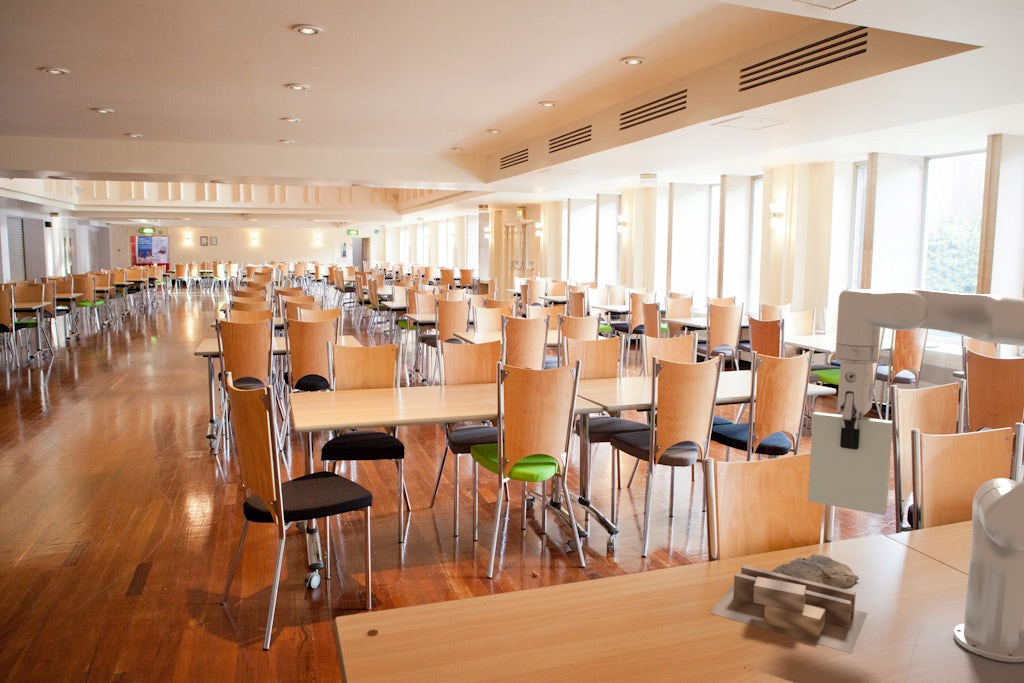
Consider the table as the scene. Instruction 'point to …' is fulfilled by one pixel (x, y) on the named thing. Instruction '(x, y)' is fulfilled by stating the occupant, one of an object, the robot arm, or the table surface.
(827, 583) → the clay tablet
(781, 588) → the offcut upper
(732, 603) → the rack
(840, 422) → the panel
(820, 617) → the offcut lower
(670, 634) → the table surface
